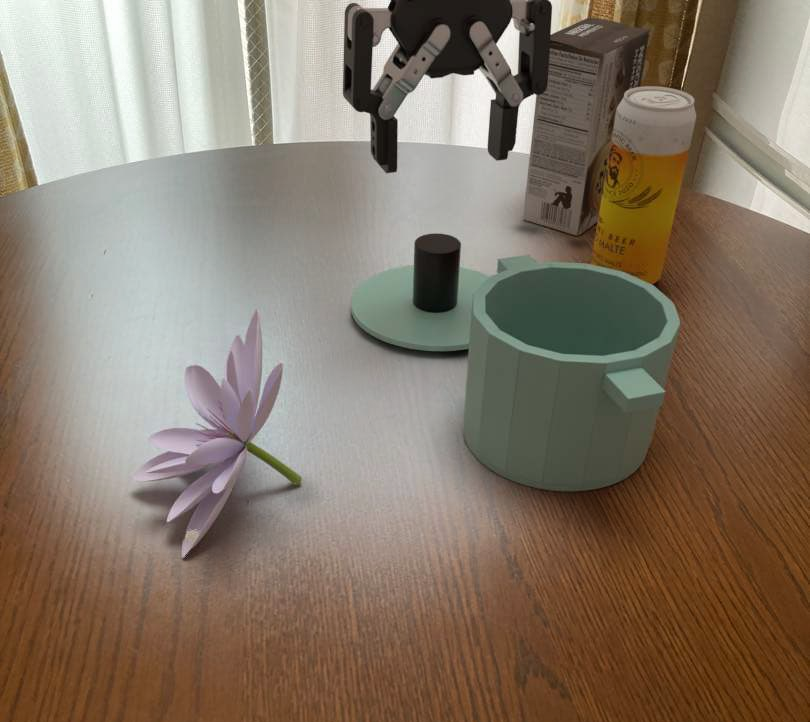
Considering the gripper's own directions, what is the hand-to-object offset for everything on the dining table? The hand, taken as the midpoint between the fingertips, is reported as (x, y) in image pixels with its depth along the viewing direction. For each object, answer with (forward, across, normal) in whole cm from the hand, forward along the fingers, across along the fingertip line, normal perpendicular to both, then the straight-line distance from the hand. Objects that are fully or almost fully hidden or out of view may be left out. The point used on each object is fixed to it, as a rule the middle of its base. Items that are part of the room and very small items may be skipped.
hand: (443, 163), depth 67 cm
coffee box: (+12, +20, +15) cm, 28 cm away
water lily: (+12, -21, -17) cm, 30 cm away
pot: (+12, +2, -18) cm, 22 cm away
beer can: (+12, +18, +1) cm, 22 cm away
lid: (+12, 0, 0) cm, 12 cm away
